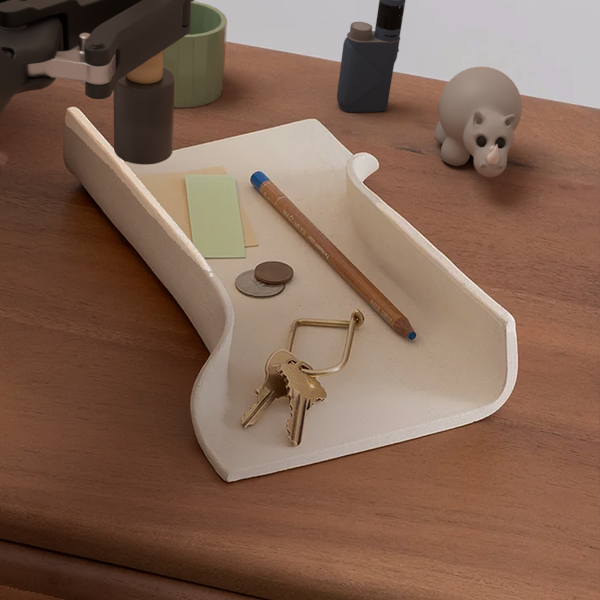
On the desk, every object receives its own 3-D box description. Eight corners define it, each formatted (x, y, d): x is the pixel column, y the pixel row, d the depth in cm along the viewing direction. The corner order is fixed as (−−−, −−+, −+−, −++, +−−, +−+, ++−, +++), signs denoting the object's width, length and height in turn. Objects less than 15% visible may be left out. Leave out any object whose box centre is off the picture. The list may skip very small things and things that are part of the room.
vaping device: (392, 112, 102) (412, -9, 95) (339, 113, 101) (355, -10, 94) (385, 100, 104) (404, -20, 97) (333, 100, 103) (348, -21, 96)
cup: (113, 83, 101) (112, 13, 97) (178, 59, 107) (180, -8, 103) (176, 116, 97) (178, 44, 93) (241, 90, 103) (245, 21, 99)
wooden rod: (101, 148, 66) (95, -159, 55) (144, 130, 68) (147, -168, 57) (142, 171, 64) (144, -141, 53) (184, 152, 66) (195, -151, 56)
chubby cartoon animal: (438, 203, 90) (456, 111, 84) (426, 134, 99) (442, 49, 94) (522, 210, 90) (546, 120, 85) (502, 141, 100) (523, 56, 94)
